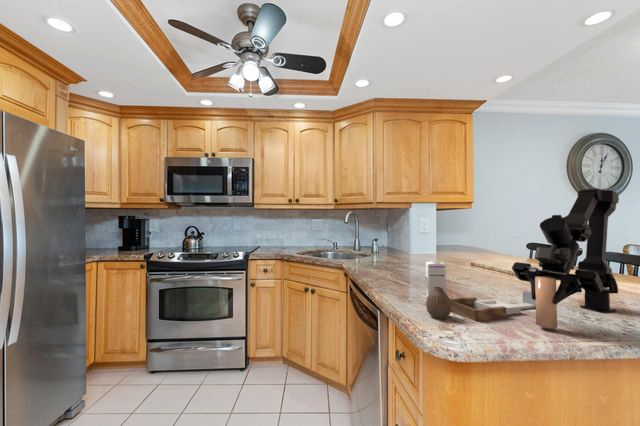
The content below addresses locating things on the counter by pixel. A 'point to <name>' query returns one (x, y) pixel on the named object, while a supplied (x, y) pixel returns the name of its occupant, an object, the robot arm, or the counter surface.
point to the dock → (476, 310)
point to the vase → (438, 303)
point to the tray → (508, 304)
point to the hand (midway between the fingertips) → (543, 301)
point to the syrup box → (435, 276)
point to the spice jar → (545, 302)
